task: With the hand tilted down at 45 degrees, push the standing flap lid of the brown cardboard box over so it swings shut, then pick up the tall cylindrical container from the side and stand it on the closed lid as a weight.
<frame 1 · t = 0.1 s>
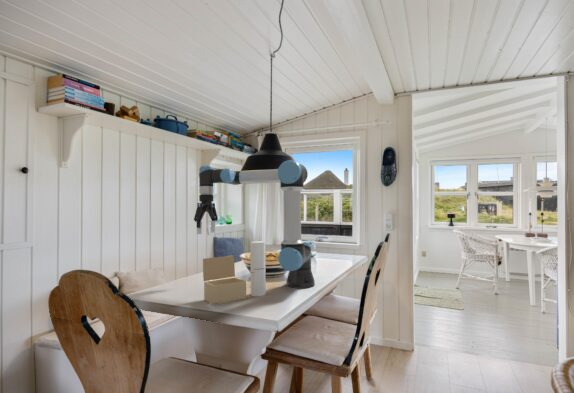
hand: (206, 233, 178), 28 cm above the table, tool pointing down, fingers open, 13 cm apart
lid: (219, 267, 154), point 13 cm above the table, hinge at 95.0°
box: (225, 298, 149), on the table
cylindrical container: (258, 294, 156), on the table
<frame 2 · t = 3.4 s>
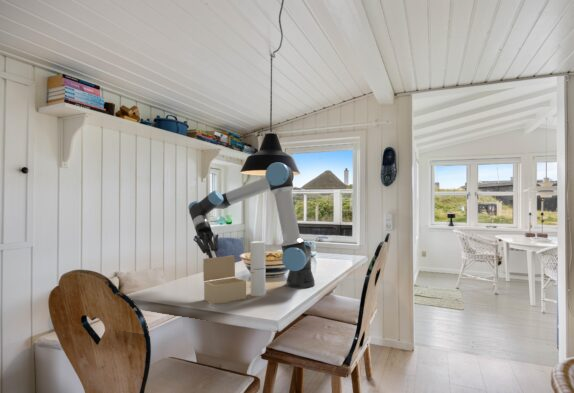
hand: (215, 263, 154), 15 cm above the table, tool tilted 45°, fingers closed
lid: (219, 267, 154), point 13 cm above the table, hinge at 90.8°, touching gripper
everything else where it was.
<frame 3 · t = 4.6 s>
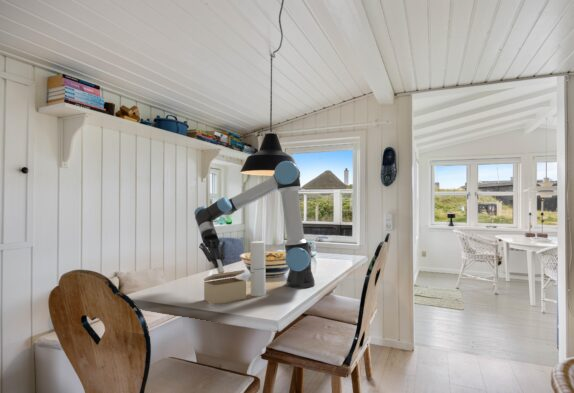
hand: (221, 272, 149), 12 cm above the table, tool tilted 45°, fingers closed
lid: (224, 275, 150), point 11 cm above the table, hinge at 20.5°, touching gripper
everything else where it was.
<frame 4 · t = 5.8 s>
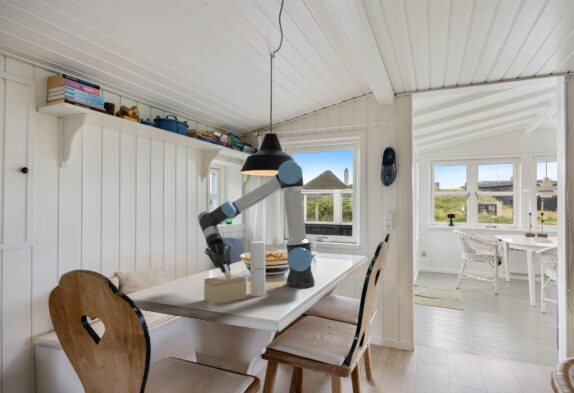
hand: (228, 277, 146), 10 cm above the table, tool tilted 45°, fingers closed
lid: (225, 279, 149), point 9 cm above the table, hinge at -1.0°, touching gripper
everything else where it was.
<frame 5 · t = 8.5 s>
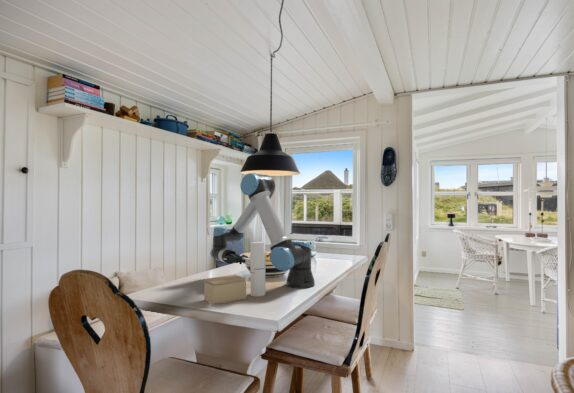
hand: (250, 261, 162), 15 cm above the table, tool horizontal, fingers closed
lid: (225, 279, 149), point 9 cm above the table, hinge at -1.0°
everything else where it was.
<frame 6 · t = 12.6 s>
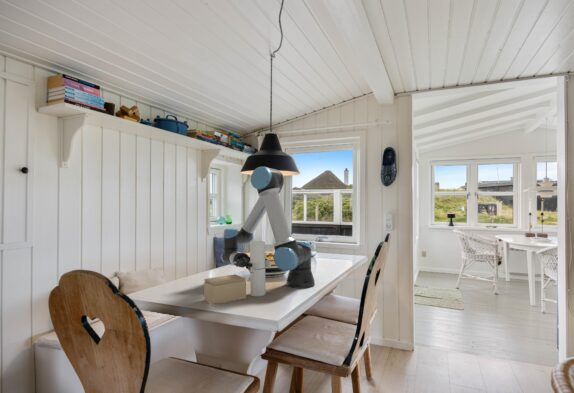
hand: (263, 265, 153), 15 cm above the table, tool horizontal, fingers closed on cylindrical container, 7 cm apart
cylindrical container: (258, 294, 156), on the table, touching gripper
everything else where it was.
when the fingers open (25 cm above the table, at t = 17.2 s): cylindrical container drops 2 cm, resting on lid.
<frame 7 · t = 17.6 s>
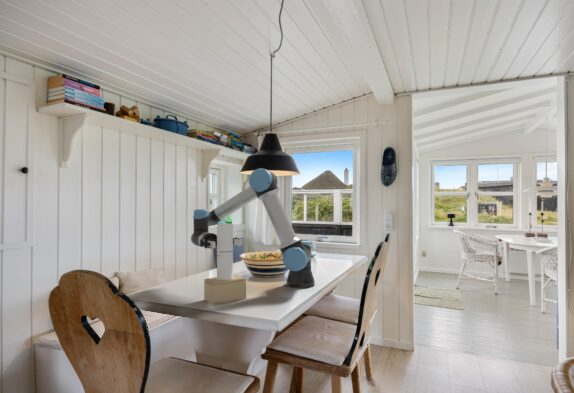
hand: (228, 243, 147), 25 cm above the table, tool horizontal, fingers open, 13 cm apart
lid: (225, 279, 149), point 9 cm above the table, hinge at -1.8°, touching box, cylindrical container
cylindrical container: (224, 279, 149), point 9 cm above the table, touching lid
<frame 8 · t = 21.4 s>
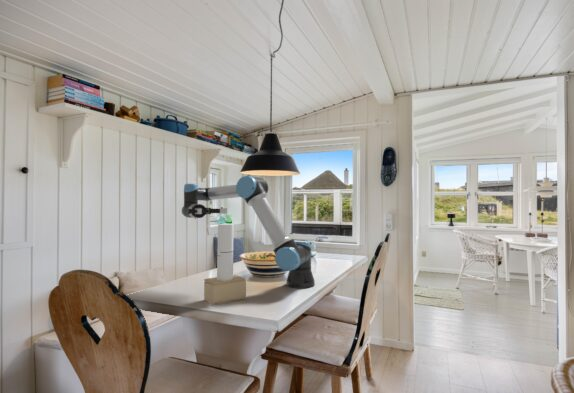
hand: (213, 211, 163), 40 cm above the table, tool horizontal, fingers open, 13 cm apart
lid: (225, 279, 149), point 9 cm above the table, hinge at -1.8°, touching box
cylindrical container: (224, 279, 149), point 9 cm above the table
at the end: lid at -2° (first picture: +95°); cylindrical container inside the target area on the box (0.0 cm from its centre), point 9.0 cm above the box's base; cylindrical container tilted 2° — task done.
